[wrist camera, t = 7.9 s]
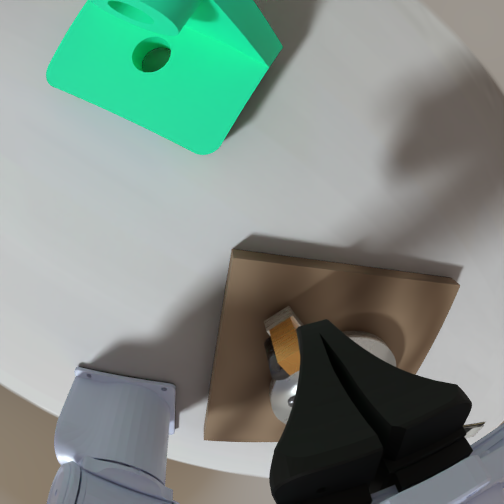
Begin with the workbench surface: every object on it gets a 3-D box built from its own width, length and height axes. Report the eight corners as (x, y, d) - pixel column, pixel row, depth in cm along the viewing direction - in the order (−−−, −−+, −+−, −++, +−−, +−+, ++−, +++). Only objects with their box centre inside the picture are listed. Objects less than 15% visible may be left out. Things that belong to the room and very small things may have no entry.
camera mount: (59, 85, 15) (-44, 70, 6) (117, -10, 13) (56, -85, 4) (212, 157, 18) (206, 186, 9) (274, 57, 16) (330, -7, 7)
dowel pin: (262, 350, 22) (269, 380, 19) (266, 335, 22) (273, 365, 19) (280, 351, 23) (288, 380, 20) (284, 336, 22) (294, 365, 19)
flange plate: (401, 374, 26) (422, 408, 21) (305, 430, 27) (316, 467, 23) (343, 265, 20) (373, 302, 16) (211, 349, 22) (212, 397, 17)
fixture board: (203, 428, 28) (203, 440, 26) (231, 248, 21) (233, 257, 19) (372, 423, 31) (376, 432, 30) (450, 277, 24) (460, 285, 23)
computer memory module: (486, 423, 40) (473, 437, 41) (484, 420, 41) (471, 434, 42) (452, 429, 36) (437, 444, 37) (449, 425, 37) (435, 440, 38)
